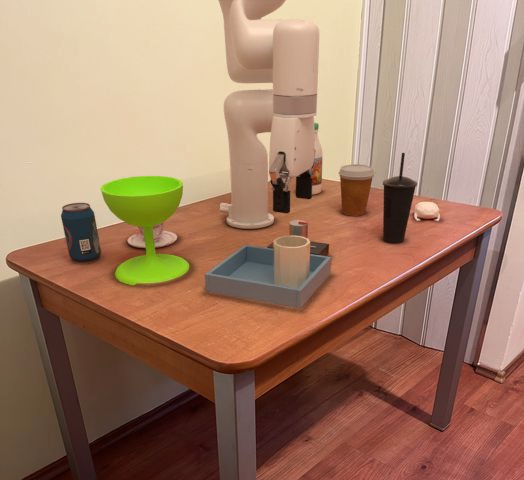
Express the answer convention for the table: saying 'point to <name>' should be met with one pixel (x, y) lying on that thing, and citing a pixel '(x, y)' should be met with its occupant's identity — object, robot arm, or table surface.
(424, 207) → the frog figurine
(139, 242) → the teacup
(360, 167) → the disposable coffee cup
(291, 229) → the control knob
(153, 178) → the wineglass
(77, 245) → the soda can
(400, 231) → the drinking cup
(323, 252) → the black dial panel
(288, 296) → the tray
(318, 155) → the milk bottle
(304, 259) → the cup
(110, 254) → the table surface
